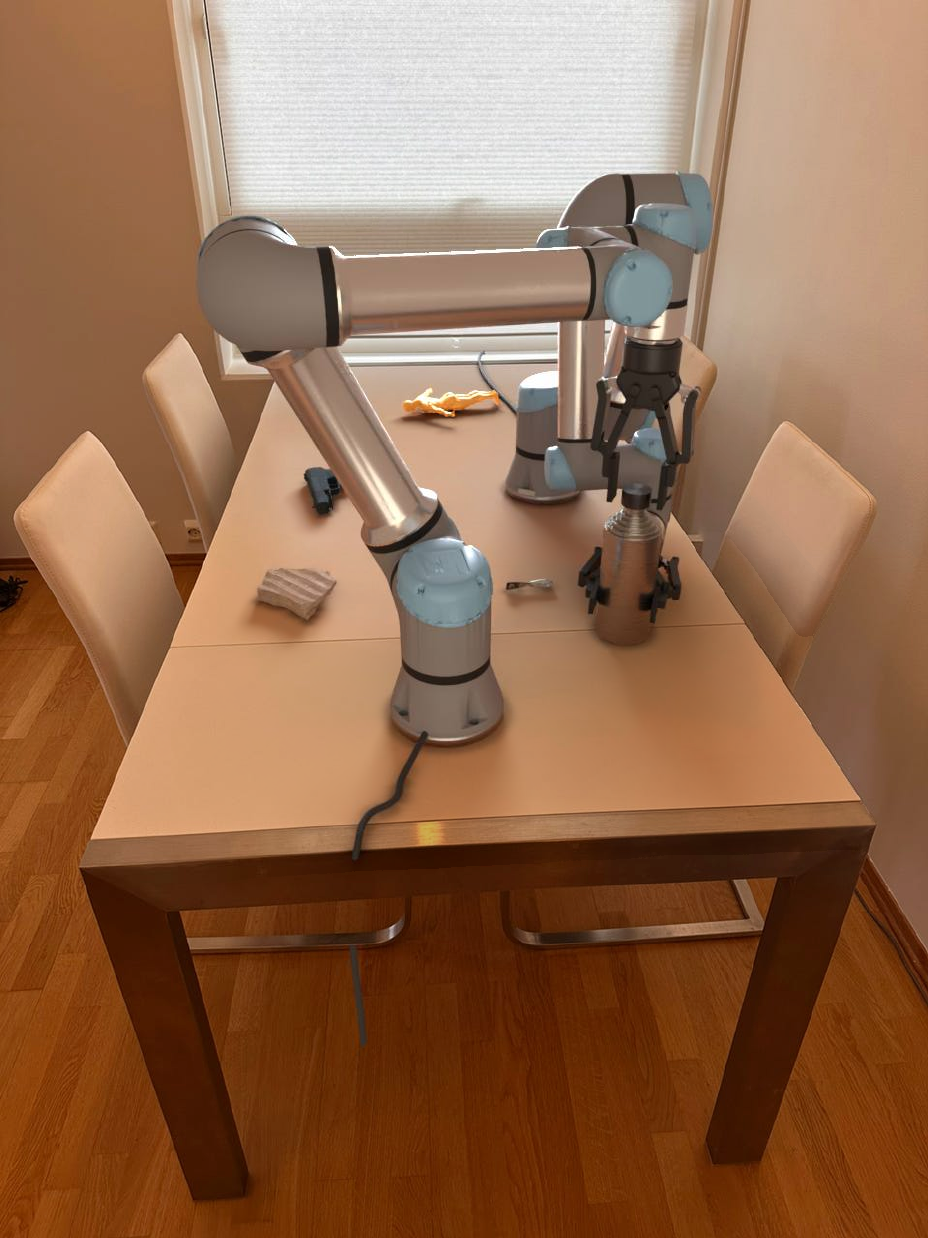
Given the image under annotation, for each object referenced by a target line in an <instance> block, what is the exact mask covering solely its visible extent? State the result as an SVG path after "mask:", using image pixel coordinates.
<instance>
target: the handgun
mask: <svg viewBox="0 0 928 1238" xmlns="http://www.w3.org/2000/svg"><path fill="white" fill-rule="evenodd" d="M303 480H304V481H305V482H306V483H307V487H308V490H309V494H310V496H311V499H312V502H313V505H311V508H312V509H313V510H314V509H315V512H316V513H317V514H318V515H328V514H329V513H330V509H331V510H332V511H334V510H335V509H334V507H335V506H334V499H333V496H338V495H340V494H341V489H343V488H342V486H341V485H340V483H339V482H338V480H337V478H336V477H335V475H334V474H333V472H332V471H331V469H330V468H324V467H322V466H315V467H314V466H313V467H308V468H307V469H305V471H304V473H303Z"/></svg>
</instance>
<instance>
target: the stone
mask: <svg viewBox="0 0 928 1238" xmlns="http://www.w3.org/2000/svg"><path fill="white" fill-rule="evenodd" d="M336 584H337V580H336V579H335V578H334V577H333V576H332V575H331V571H323V570H320V569H317V568H313V567H312V568H310V567H308V568H306V567H304V568H299V569H297V568H292V567H279V568H278V569H277V568H276V569H272V568H270V569H268V570H267V571H265V575H264V577H263V580H262V582H261V585H260V586H259V587H257V588H256V593H257V594H256V600H257V601H261V602H262V603H267V604H269V605H272V606H274V607H281V608H285V609H287V610H289V611H291V612H293V614H295V615H297V616H298V617H300V618H302V619H303V620H308V621H309V619H310V618H311V617H312V616H313V615H314V614H316V612H317V608H318V607H319V604H321V602H323V600H324V599H325V598H327V597H328V596H329V595H330V594H331V592H332V591H333V590H334V588H335V586H336Z"/></svg>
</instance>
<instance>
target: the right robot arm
mask: <svg viewBox="0 0 928 1238" xmlns="http://www.w3.org/2000/svg"><path fill="white" fill-rule="evenodd" d="M649 204H678V205H685V206H688V207H690V208H692V209H693V210H694V211H695V212H696V215H697V225H696V226H697V230H696V250H694V255H697V256H699V255H700V254H704V253H705V252H707V250H708V248H709V247H710V243H711V240H712V235H713V226H714V225H713V224H714V209H713V199H712V194H711V189H710V186H709V184H708V181H707V180H706V179H705V178H704V176H702V175H701V174H699V173H692V172H691V173H689V172H688V173H687V172H680V171H675V173H673V172H672V173H606V174H603V175H600V176H598V177H595V178H593V179H592V180H590V181H589V182H588V183H586V184H585V185H584V186H583V187H582V188H580V190H578V192H576V194H575V195H574V196H573V197H572V199H571V200H570V202H569V203H568V204H567V206H566V208H565V210H564V212H563V214H562V216H561V217H560V220H559V222H558V224H557V227H556V229H560V228H565V227H567V226H569V228H573V227H610V226H625V225H628V224H633V223H632V221H633V219H634V215H635V211H636V209H637V208H638V207H639V206H642V205H649ZM611 322H612V323H611V327H610V332H609V336H608V341H607V346H606V347H605V345H606V343H605V342H606V341H605V338H606V320H596V321H573V322H557V370H555V371H545V372H540V373H537V374H534V375H531V376H529V377H527V378H525V379H524V380H523V381H522V382H521V383H520V385H518V389H517V395H516V403H515V405H514V404H513V403H512V402H511V401H510V400H509V399H508V397H506V396H505V395H504V394H503V393H502V392H501V391H500V389H498V388H497V386H495V385H494V384H493V382H492V381H491V380H490V378H489V377H488V376H487V374H486V373H485V370H484V367H483V364H482V357H483V355H486V351H485V350H484V349H482V350H481V351H480V352H479V354H478V357H477V365H478V368H479V370H480V373H481V375H482V377H483V378H484V379H485V381H486V382H487V384H488V385H489V386H490V387H491V389H492V390H495V392H497V393H498V397H500V398H501V399H502V400H503V401H504V402H505V403H506V404H507V405H508V406H509V407H510V408H511V409H512V410H513V411H514V413H515V414H516V419H515V421H516V423H515V427H516V428H515V453H514V456H513V458H512V461H511V464H510V467H509V470H508V473H507V475H506V479H505V492H506V493H507V494H508V496H510V497H511V498H513V499H516V500H517V501H519V502H523V503H527V504H533V505H557V504H558V505H559V504H563V503H566V502H569V501H571V500H574V499H576V498H577V497H578V496H579V494H580V492H583V491H584V492H585V491H601V490H607V488H608V478H607V477H603V476H602V464H603V455H602V454H601V453H600V452H598V451H593V450H592V449H591V447H590V445H591V439H592V433H593V427H594V421H595V415H596V409H597V403H598V393H597V388H596V383H597V382H598V381H599V380H600V379H601V378H602V377H603V376H607V377H609V378H610V377H616V376H618V374H619V373H620V370H621V363H622V351H623V341H624V339H625V338H626V337H627V336H628V335H627V334H626V333H625V331H624V329H625V325H621V324H617V323H615V322H614V321H613V320H612V321H611ZM605 348H606V349H605ZM625 401H626V399H625V397H624V396H623V394H622V392H621V391H620V389H619V387H618V385H617V386H615V391H614V392H613V393H612V394H611V401H610V407H609V413H608V418H607V424H606V430H605V436H604V441H606V442H607V441H608V439H609V437H610V434H611V432H612V430H613V428H614V426H615V424H616V421H617V419H618V417H619V415H620V412H621V409H622V407H623V405H624V403H625ZM656 419H657V418H656V415H655V411H649V410H647V409H634V410H633V412H632V414H631V416H630V418H629V420H628V422H627V425H626V427H625V429H624V431H623V433H622V435H621V438H620V440H619V441H630V440H631V442H630V443H618V444H617V446H616V449H615V450H614V453H615V452H620V461H619V472H618V483H617V490H622V488H623V486H625V485H627V484H631V483H639V484H644V485H647V486H649V487H651V488H652V497H651V505H650V507H649V508H647V509H646V511H648V512H649V513H650V514H651V515H652V516H653V517H655V518H656V519H657V520H658V521H659V522H660V524H661V526H662V529H663V531H662V539H661V547H660V555H659V563H658V571H657V579H656V587H655V593H654V597H653V602H652V606H651V614H650V622H649V623H651V624H655V623H656V618H657V614H658V609H661V610H665V609H666V608H667V604H668V600H669V599H671V600H672V601H677V602H678V601H680V599H681V594H682V586H683V585H682V580H681V577H680V572H679V564H680V557H679V556H674V555H673V556H672V557H671V558H670V559H669V558H664V556H663V555H662V552H663V547H664V543H665V538H666V536H667V535H666V533H667V529H668V525H669V523H670V520H671V514H672V506H671V504H672V497H673V495H672V494H673V493H672V492H673V487H668V488H667V496H666V503H665V505H664V507H663V509H662V511H661V510H656V507H657V499H658V490H659V482H660V474H661V466H662V464H663V463H664V461H665V459H666V454H665V450H664V445H663V441H662V437H661V432H660V428H658V427H653V426H654V423H655V421H656ZM676 440H677V441H678V438H677V437H676ZM601 557H602V547H601V546H594V550H593V554H591V556H590V557H589V559H588V560H587V561H586V562H585V563H584V564H583V566H582V567H581V568H580V569H579V570H578V575H577V587H579V588H585V591H584V597H585V599H588V607H587V608H588V609H587V614H588V615H594V613H595V610H596V608H597V603H598V591H599V580H600V568H601ZM661 567H662V568H663V570H664V571H665V574H666V575H667V580H666V578H665V577H664V575H663V574H662V572H661V571H660V568H661Z"/></svg>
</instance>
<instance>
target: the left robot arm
mask: <svg viewBox="0 0 928 1238" xmlns="http://www.w3.org/2000/svg"><path fill="white" fill-rule="evenodd" d="M632 223H633V224H628V225H625V226H610V227H573V228H569V226H567V227H565V228H560V229H557V228H550V229H546V230H544V231H543V232H541V233H540V235H539V236H538V238H537V241H536V243H535V247H534V248H523V249H521V248H520V249H496V250H475V251H451V252H450V251H449V252H429V253H427V252H425V253H423V252H422V253H403V254H402V253H401V254H379V255H376V254H375V255H356V256H355V255H354V256H344V255H342V253H340V252H339V251H338V250H337V249H336V248H335V247H334V246H332V245H327V246H306V245H298V244H297V242H296V241H295V239H294V238H293V236H292V235H291V234H290V233H289V232H288V231H287V230H286V229H285V227H282V226H280V225H279V224H278V223H277V222H275V221H273V220H271V219H268V218H266V217H262V216H257V215H250V214H249V215H248V214H247V215H245V214H244V215H237V216H233V217H231V218H228V219H226V220H224V221H222V222H220V223H219V224H218V225H216V226H215V227H214V228H213V229H212V230H210V231H209V232H208V234H207V236H206V237H205V238H204V239H203V241H202V243H201V244H200V245H201V246H200V247H199V249H198V254H197V259H196V260H197V261H196V271H197V275H196V296H197V300H198V304H199V307H200V310H201V312H202V314H203V316H204V318H205V320H206V322H207V323H208V324H209V325H210V327H211V328H212V329H213V330H214V331H215V332H216V333H217V334H218V335H219V336H221V337H222V338H223V339H225V340H226V341H228V342H229V343H231V344H232V345H235V346H236V348H237V349H238V351H239V352H240V354H241V355H242V357H243V358H244V360H245V362H246V363H247V364H248V365H251V366H254V367H255V366H256V367H260V368H264V369H265V370H266V371H267V372H268V373H269V375H270V377H271V378H272V380H273V381H274V383H275V384H276V387H278V389H279V391H280V392H281V394H282V396H283V397H284V398H285V400H286V402H287V403H288V405H289V406H290V408H291V410H292V411H293V413H294V414H295V415H296V417H297V419H298V420H299V422H300V423H301V425H302V426H303V428H304V430H305V431H306V433H307V435H308V436H309V439H311V441H312V442H313V444H314V446H315V447H316V449H317V450H318V452H319V453H320V455H321V456H322V458H323V460H324V461H325V463H326V464H327V466H328V467H329V469H331V471H332V472H333V474H334V475H335V477H336V478H337V480H338V482H339V483H340V485H341V486H342V488H341V489H343V491H344V492H345V494H346V496H347V497H348V500H349V501H350V503H352V505H353V507H354V508H355V510H356V511H357V513H358V514H359V516H360V518H361V519H362V521H363V523H362V526H361V528H360V538H361V540H362V542H363V543H364V545H365V546H366V548H367V550H368V551H369V553H370V554H371V556H372V558H373V559H374V560H375V562H376V564H377V565H378V567H379V568H380V570H381V572H382V573H383V575H384V577H385V579H386V581H387V583H388V587H389V590H390V593H391V596H392V598H393V599H392V600H393V602H394V606H395V608H396V611H397V616H398V620H399V633H400V634H399V635H400V655H401V667H400V668H399V672H398V675H397V678H396V681H395V684H394V687H393V690H392V693H391V696H390V703H389V706H390V718H391V721H392V724H393V725H394V727H395V728H396V729H397V731H398V732H399V733H400V734H402V735H403V736H404V737H406V738H407V739H409V740H411V741H413V742H415V744H414V747H413V749H412V751H411V753H410V755H409V756H408V758H407V760H406V761H405V764H404V765H403V767H402V769H401V771H400V773H399V776H398V778H397V780H396V785H395V791H394V794H393V795H392V797H390V798H389V799H388V800H386V801H384V802H382V803H380V804H378V805H377V804H376V805H375V806H373V807H372V808H370V809H369V810H367V811H366V812H365V813H364V815H363V816H362V817H361V819H360V820H359V822H358V824H357V828H356V832H355V838H354V841H353V847H352V852H351V860H352V861H357V860H358V859H359V857H360V853H361V848H362V843H363V837H364V833H365V829H366V826H367V825H368V823H369V822H370V820H371V819H372V818H373V817H375V815H377V814H379V813H381V812H383V811H385V810H388V809H390V808H391V807H393V806H395V805H396V804H397V803H398V801H400V799H401V797H402V795H403V790H404V784H405V780H406V778H407V776H408V774H409V772H410V770H411V769H412V766H413V765H414V763H415V761H416V760H417V757H418V755H419V753H420V751H421V750H422V747H423V746H424V745H425V746H430V747H437V748H454V747H455V748H457V747H463V746H467V745H471V744H473V743H476V742H480V741H481V740H483V739H485V738H486V737H488V736H489V735H491V734H492V733H493V732H494V731H495V730H496V729H498V727H499V726H500V724H501V722H502V720H503V717H504V697H503V693H502V690H501V687H500V685H499V682H498V679H497V677H496V674H495V672H494V668H493V666H492V664H491V654H492V653H491V651H492V649H491V648H492V647H491V645H492V599H493V594H494V583H493V577H492V570H491V566H490V563H489V560H488V558H486V556H485V555H484V554H483V553H482V552H481V551H480V550H479V549H478V548H477V547H475V546H473V545H472V544H471V545H470V544H469V545H466V543H465V541H463V540H462V538H461V534H460V531H459V529H458V526H457V525H456V523H455V522H454V521H453V519H452V518H451V517H450V516H449V515H448V513H447V512H446V509H445V508H444V507H443V504H442V503H441V501H440V499H439V498H438V495H437V494H436V493H435V492H434V491H433V490H431V489H428V488H422V487H419V485H418V484H417V482H416V480H415V478H414V477H413V475H412V473H411V472H410V470H409V468H408V466H407V465H406V463H405V461H404V459H403V458H402V456H401V454H400V453H399V451H398V449H397V447H396V445H395V443H394V442H393V440H392V438H391V437H390V435H389V433H388V432H387V429H386V428H385V426H384V425H383V422H382V421H381V420H380V418H379V416H378V415H377V412H376V411H375V409H374V408H373V406H372V404H371V402H370V400H369V399H368V397H367V395H366V394H365V392H364V390H363V388H362V387H361V385H360V383H359V382H358V379H357V378H356V376H355V374H354V373H353V371H352V370H351V368H350V366H349V364H348V363H347V360H346V359H345V357H344V355H343V354H342V352H341V350H340V348H339V347H342V346H343V345H344V343H345V342H346V341H347V340H348V339H349V338H350V337H351V336H362V335H378V334H393V333H395V334H396V333H409V332H410V333H411V332H425V331H426V332H427V331H428V332H429V331H442V330H457V329H472V328H473V329H474V328H490V327H505V326H522V325H538V324H540V325H541V324H555V323H556V324H557V323H558V322H573V321H596V320H605V321H612V322H613V321H614V322H615V323H617V324H621V325H625V329H624V331H625V333H626V334H627V335H628V336H627V337H626V338H625V339H624V341H623V351H622V363H621V370H620V373H619V374H618V376H616V377H610V378H609V377H607V376H603V377H602V378H601V379H600V380H599V381H598V382H597V383H596V388H597V393H598V403H597V409H596V415H595V421H594V427H593V433H592V439H591V445H590V447H591V449H592V450H593V451H598V452H600V453H601V454H602V455H603V464H602V476H603V477H607V478H608V488H607V489H606V501H605V502H606V503H612V502H613V501H614V499H615V498H616V496H617V492H618V489H617V483H618V472H619V461H620V452H615V453H614V450H615V449H616V446H617V444H619V442H620V441H621V440H620V438H621V435H622V433H623V431H624V429H625V427H626V425H627V422H628V420H629V418H630V416H631V414H632V412H633V410H634V409H647V410H649V411H655V415H656V418H655V419H656V420H657V422H658V427H659V429H660V432H661V437H662V441H663V445H664V450H665V454H666V459H665V461H664V463H663V464H662V466H661V474H660V482H659V490H658V499H657V507H656V510H661V511H662V509H663V507H664V505H665V503H666V496H667V488H668V487H672V488H674V485H675V484H676V481H677V478H678V471H679V469H678V468H679V465H682V464H683V465H684V464H685V465H688V464H689V463H690V462H691V461H692V459H693V457H694V455H695V434H696V433H695V432H696V412H697V411H696V410H697V403H698V401H699V398H700V397H701V396H700V395H701V393H702V388H701V387H700V386H699V385H698V386H697V385H696V386H693V387H692V386H689V385H687V384H684V383H683V381H682V379H681V376H680V369H681V360H682V353H683V344H684V342H683V340H682V339H681V338H682V337H684V335H685V330H686V322H687V315H688V305H689V304H688V302H689V293H690V286H691V278H692V271H693V262H694V257H695V256H694V255H695V253H694V250H696V230H697V226H696V225H697V215H696V212H695V211H694V210H693V209H692V208H690V207H688V206H685V205H678V204H649V205H642V206H639V207H638V208H637V209H636V211H635V215H634V219H633V221H632ZM617 385H618V387H619V389H620V391H621V392H622V394H623V396H624V397H625V399H626V401H625V403H624V405H623V407H622V409H621V412H620V415H619V417H618V419H617V421H616V424H615V426H614V428H613V430H612V432H611V434H610V437H609V439H608V441H604V436H605V430H606V424H607V418H608V413H609V407H610V401H611V394H612V393H613V392H614V391H615V386H617ZM677 394H679V395H680V401H681V403H682V404H683V409H682V425H681V427H682V429H681V451H680V450H679V446H678V445H679V444H678V439H677V440H676V438H677V436H676V431H675V428H674V423H673V418H672V413H671V404H670V401H672V399H673V398H674V397H675V396H676V395H677ZM349 956H350V968H351V976H352V984H353V992H354V998H355V1006H356V1014H357V1022H358V1023H357V1024H358V1033H359V1043H360V1046H362V1047H365V1046H366V1045H367V1044H368V1040H367V1039H368V1038H367V1029H366V1028H367V1027H366V1019H365V1017H366V1016H365V1010H364V1002H363V994H362V993H363V992H362V987H361V979H360V978H361V977H360V970H359V959H358V945H353V944H349Z"/></svg>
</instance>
